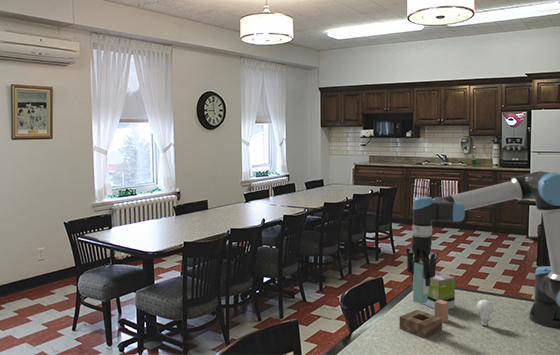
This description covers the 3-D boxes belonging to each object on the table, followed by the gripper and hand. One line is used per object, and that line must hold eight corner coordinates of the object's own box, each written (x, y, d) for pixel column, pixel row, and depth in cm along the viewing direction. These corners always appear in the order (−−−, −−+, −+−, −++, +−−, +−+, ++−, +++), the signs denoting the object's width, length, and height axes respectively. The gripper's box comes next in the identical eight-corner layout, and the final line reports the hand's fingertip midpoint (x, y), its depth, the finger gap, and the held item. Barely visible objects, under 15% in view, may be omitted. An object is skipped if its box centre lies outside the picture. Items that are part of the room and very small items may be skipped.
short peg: (448, 320, 198) (448, 301, 197) (442, 322, 195) (443, 304, 194) (439, 317, 201) (440, 299, 200) (434, 319, 198) (434, 301, 198)
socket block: (442, 329, 188) (442, 317, 187) (424, 338, 180) (425, 325, 180) (416, 320, 197) (416, 309, 197) (399, 328, 190) (399, 316, 189)
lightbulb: (483, 329, 187) (484, 303, 186) (472, 323, 194) (473, 298, 193) (496, 327, 189) (497, 301, 188) (485, 321, 195) (486, 296, 194)
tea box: (415, 301, 221) (416, 271, 219) (431, 298, 225) (432, 268, 224) (438, 311, 207) (439, 279, 206) (455, 308, 211) (455, 276, 210)
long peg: (427, 301, 187) (428, 263, 186) (421, 304, 185) (422, 265, 183) (418, 299, 190) (419, 261, 189) (413, 301, 188) (414, 262, 187)
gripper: (398, 233, 190) (397, 288, 192) (435, 240, 176) (433, 299, 178) (409, 230, 194) (408, 284, 196) (446, 237, 181) (444, 295, 183)
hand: (420, 291), depth 187 cm, fingers closed on long peg, 4 cm apart
